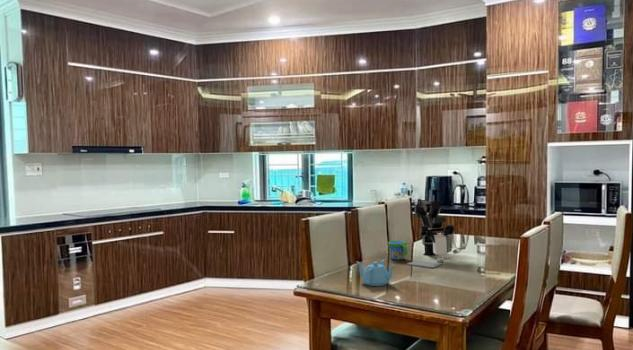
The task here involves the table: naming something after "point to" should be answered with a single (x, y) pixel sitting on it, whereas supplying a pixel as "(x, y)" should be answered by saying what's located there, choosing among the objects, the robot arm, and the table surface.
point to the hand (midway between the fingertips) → (440, 242)
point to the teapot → (375, 274)
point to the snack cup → (397, 249)
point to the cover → (439, 244)
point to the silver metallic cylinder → (440, 259)
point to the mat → (424, 264)
